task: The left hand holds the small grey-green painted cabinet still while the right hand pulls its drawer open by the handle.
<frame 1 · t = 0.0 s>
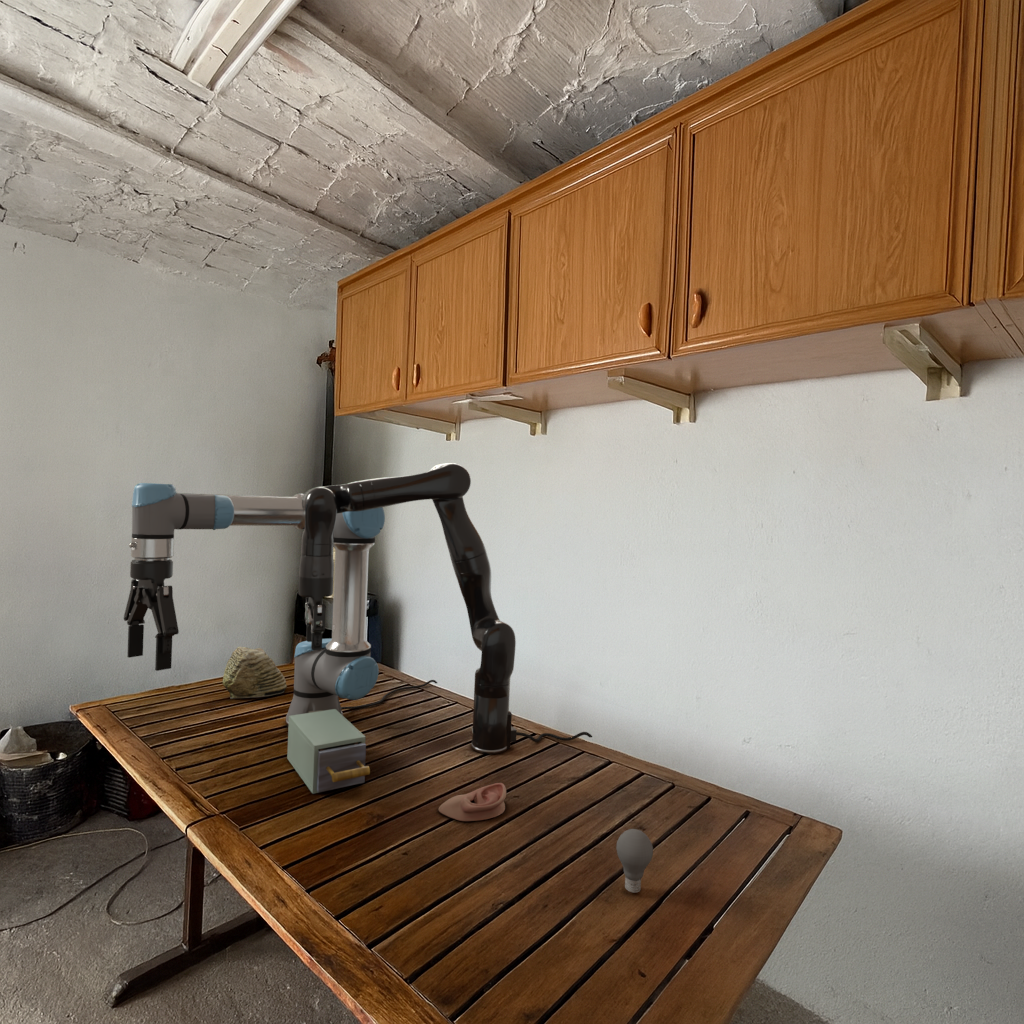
left hand: (148, 662, 129), 28 cm above the table, tool pointing down, fingers open, 13 cm apart
right hand: (313, 645, 145), 29 cm above the table, tool pointing down, fingers open, 8 cm apart
light bulb: (632, 891, 106), on the table
anatomical model: (472, 809, 131), on the table
drawer: (332, 756, 142), point 5 cm above the table, slide at 0.8 cm
cabinet: (324, 770, 147), on the table
fossil: (254, 694, 198), on the table
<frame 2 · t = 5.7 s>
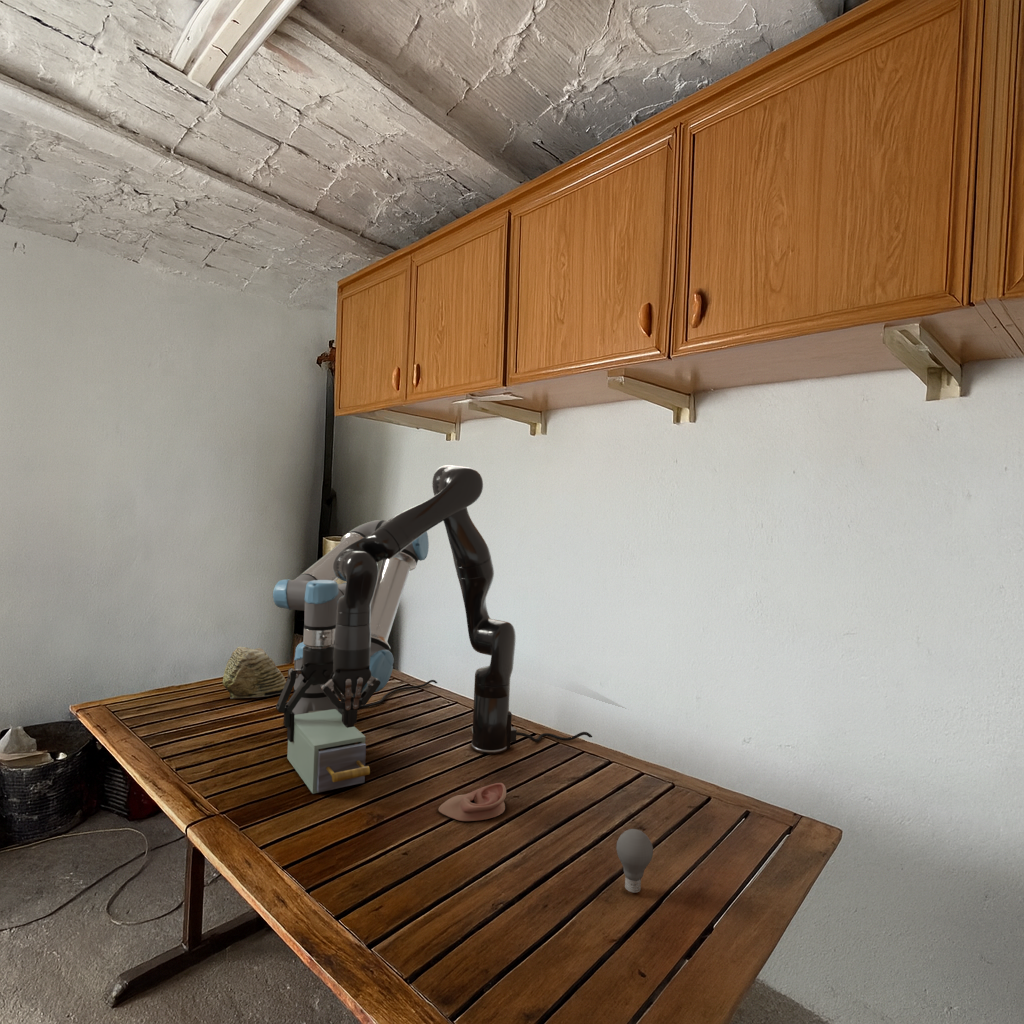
left hand: (316, 735, 152), 6 cm above the table, tool pointing down, fingers closed on cabinet, 11 cm apart
right hand: (349, 726, 134), 15 cm above the table, tool pointing down, fingers closed
cabinet: (324, 770, 147), on the table, touching left hand
everything else where it was.
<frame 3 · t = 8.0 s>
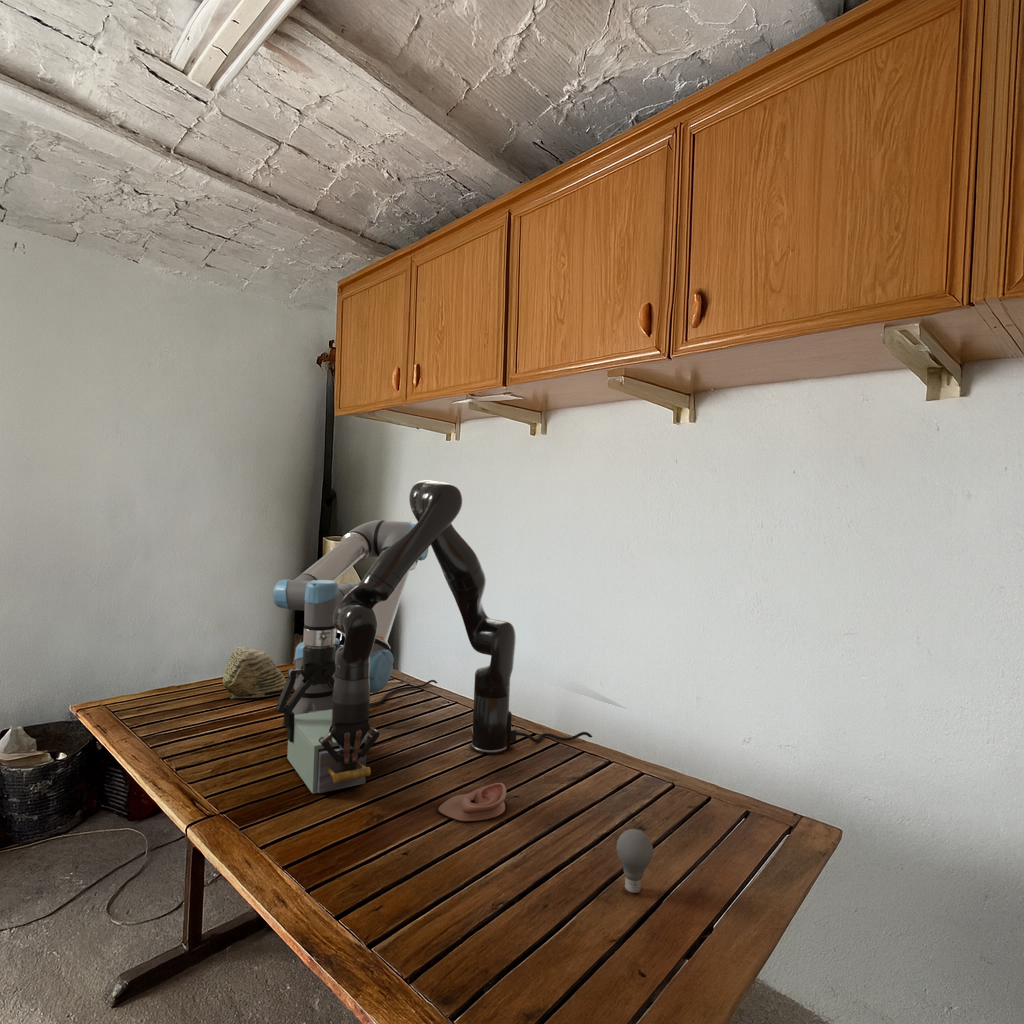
left hand: (316, 735, 152), 6 cm above the table, tool pointing down, fingers closed on cabinet, 11 cm apart
right hand: (348, 778, 133), 4 cm above the table, tool pointing down, fingers closed
drawer: (333, 757, 141), point 5 cm above the table, slide at 1.3 cm, touching right hand
cabinet: (324, 770, 147), on the table, touching left hand
everything else where it was.
when the left hand's fingers open (6 cm above the table, at t = 10.7 s): cabinet stays where it is, on the table.
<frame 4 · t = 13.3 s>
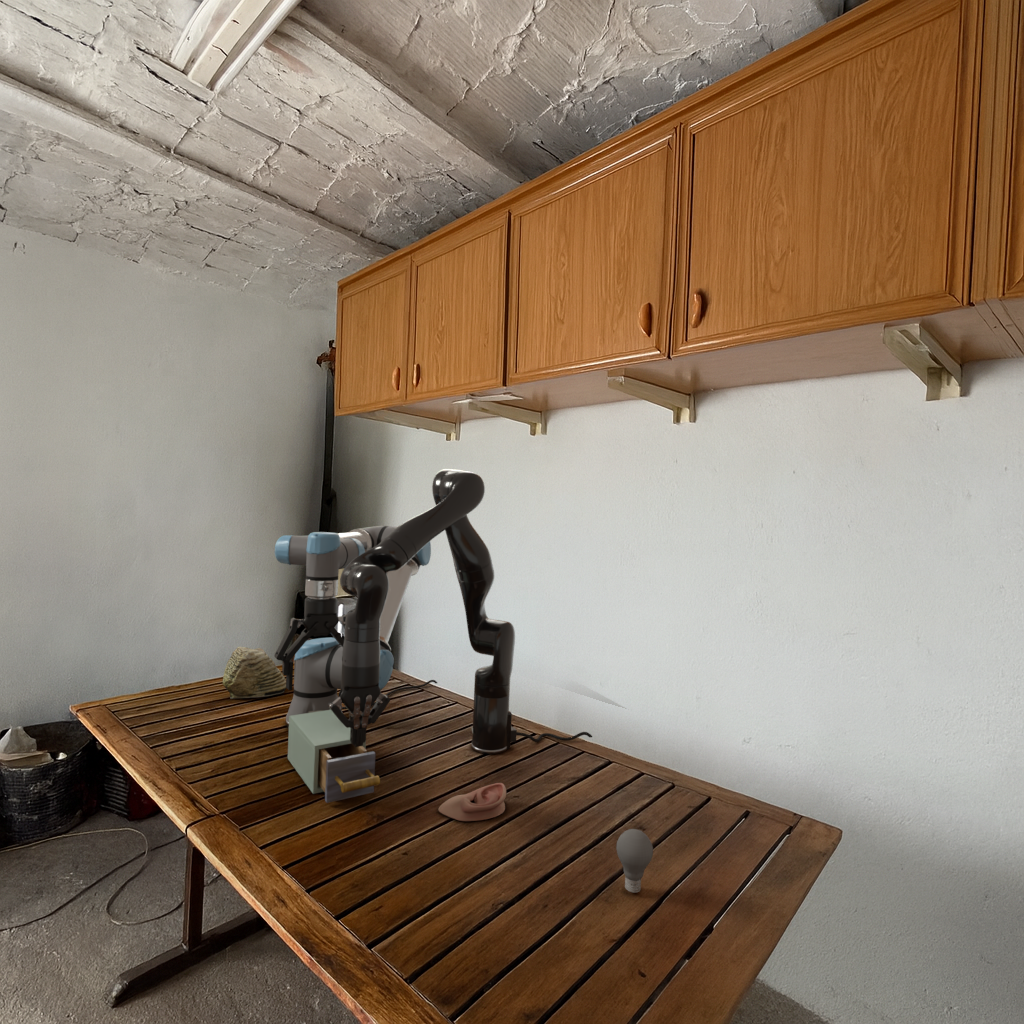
left hand: (318, 685, 152), 18 cm above the table, tool pointing down, fingers open, 13 cm apart
right hand: (357, 745, 129), 13 cm above the table, tool pointing down, fingers closed
drawer: (340, 765, 138), point 5 cm above the table, slide at 6.0 cm
cabinet: (324, 770, 147), on the table
everything else where it was.
at the end: drawer slide at 6.0 cm; cabinet tilted 0°; cabinet never tilted more than 1° during the clip; cabinet moved 0.1 cm from its start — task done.
